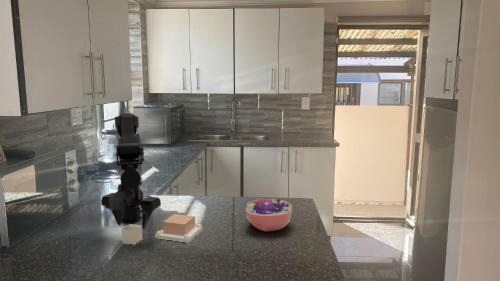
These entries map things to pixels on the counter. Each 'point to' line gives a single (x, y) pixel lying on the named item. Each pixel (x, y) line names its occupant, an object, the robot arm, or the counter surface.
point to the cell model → (269, 214)
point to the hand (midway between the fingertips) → (131, 226)
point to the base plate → (182, 238)
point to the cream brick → (131, 234)
